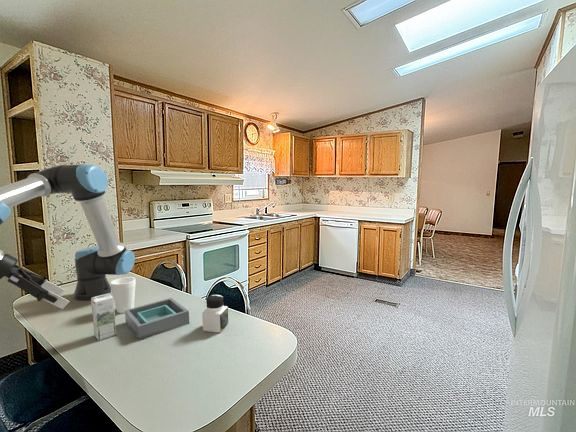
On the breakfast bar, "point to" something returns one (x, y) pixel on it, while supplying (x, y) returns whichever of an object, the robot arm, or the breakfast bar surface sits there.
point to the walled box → (156, 318)
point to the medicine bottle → (215, 314)
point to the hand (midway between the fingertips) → (63, 299)
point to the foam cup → (123, 293)
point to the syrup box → (103, 316)
